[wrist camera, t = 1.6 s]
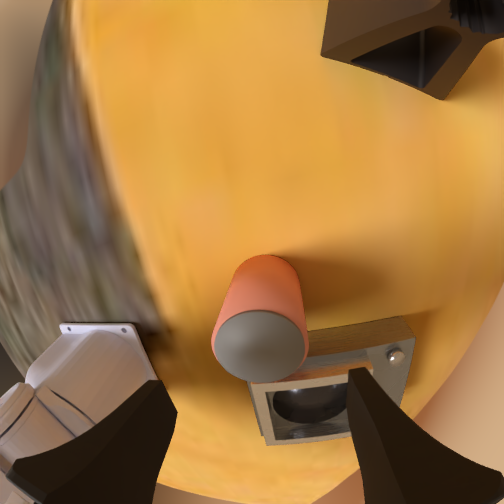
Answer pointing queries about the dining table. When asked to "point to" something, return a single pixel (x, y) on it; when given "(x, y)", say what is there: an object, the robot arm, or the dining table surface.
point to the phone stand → (412, 38)
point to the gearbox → (332, 381)
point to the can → (262, 322)
